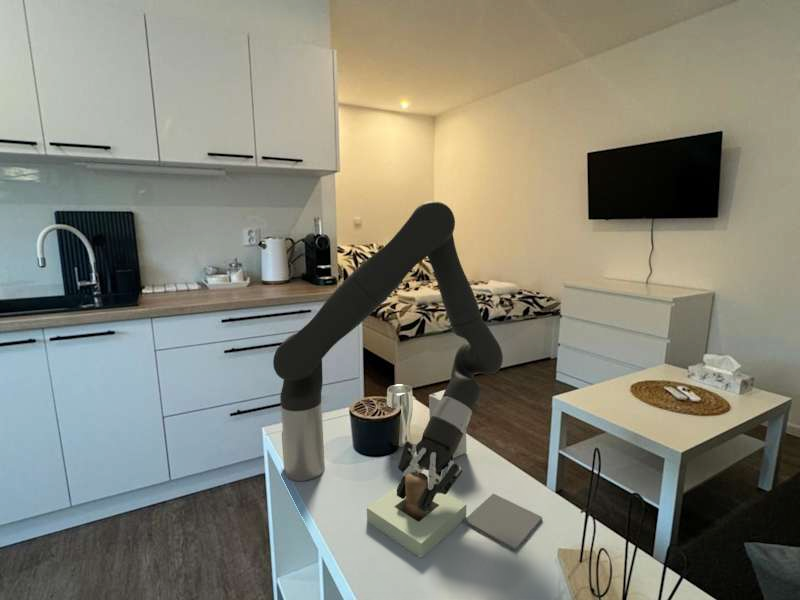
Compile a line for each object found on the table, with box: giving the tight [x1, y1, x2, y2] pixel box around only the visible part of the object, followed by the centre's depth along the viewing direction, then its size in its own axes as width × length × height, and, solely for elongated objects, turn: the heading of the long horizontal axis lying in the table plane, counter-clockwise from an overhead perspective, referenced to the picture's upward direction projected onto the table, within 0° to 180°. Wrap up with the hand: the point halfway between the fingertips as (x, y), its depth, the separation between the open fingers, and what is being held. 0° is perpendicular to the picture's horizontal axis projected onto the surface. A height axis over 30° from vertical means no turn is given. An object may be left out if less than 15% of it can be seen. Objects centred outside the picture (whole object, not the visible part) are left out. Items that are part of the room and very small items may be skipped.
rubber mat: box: [463, 493, 543, 552], centre depth 83 cm, size 11×11×1 cm
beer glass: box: [386, 384, 414, 448], centre depth 112 cm, size 7×7×15 cm
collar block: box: [366, 486, 467, 559], centre depth 83 cm, size 14×14×3 cm
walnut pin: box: [405, 472, 429, 522], centre depth 83 cm, size 4×4×9 cm
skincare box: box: [428, 389, 467, 459], centre depth 108 cm, size 8×6×15 cm
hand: (410, 503), depth 81 cm, fingers open, 5 cm apart
